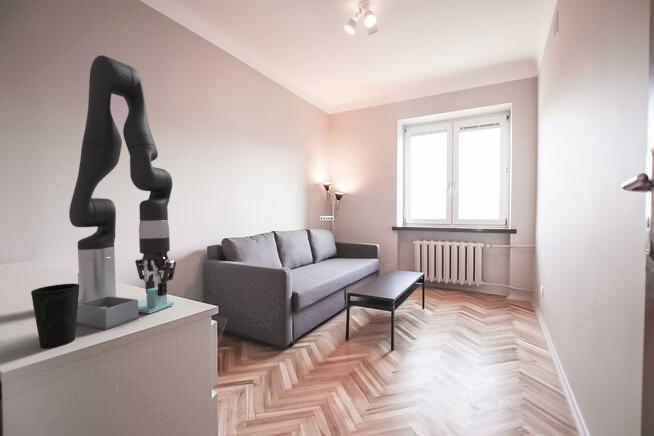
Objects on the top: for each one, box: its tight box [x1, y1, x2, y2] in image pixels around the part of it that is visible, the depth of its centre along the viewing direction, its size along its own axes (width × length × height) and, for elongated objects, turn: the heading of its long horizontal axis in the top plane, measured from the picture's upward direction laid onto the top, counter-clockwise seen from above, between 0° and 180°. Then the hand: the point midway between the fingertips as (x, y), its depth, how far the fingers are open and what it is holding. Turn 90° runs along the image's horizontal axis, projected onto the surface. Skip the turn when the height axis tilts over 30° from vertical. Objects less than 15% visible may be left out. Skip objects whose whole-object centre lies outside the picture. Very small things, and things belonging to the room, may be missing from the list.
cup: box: [30, 283, 79, 349], centre depth 63 cm, size 8×8×12 cm
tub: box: [76, 296, 140, 331], centre depth 75 cm, size 12×8×5 cm, turn 69°
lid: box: [138, 286, 175, 314], centre depth 85 cm, size 12×8×7 cm, turn 69°
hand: (156, 294), depth 84 cm, fingers open, 4 cm apart
